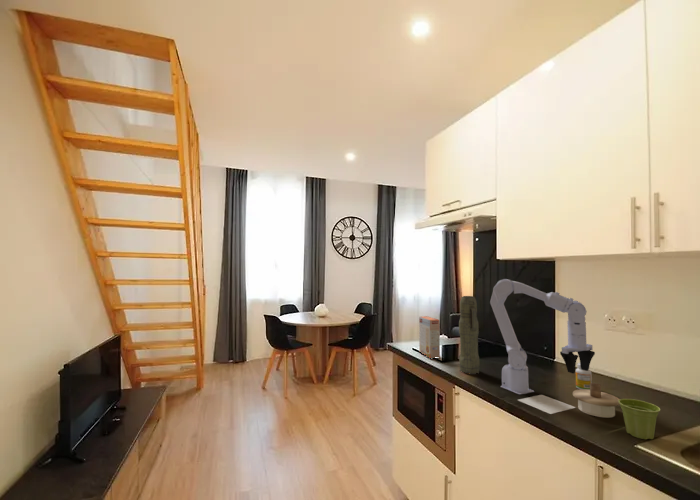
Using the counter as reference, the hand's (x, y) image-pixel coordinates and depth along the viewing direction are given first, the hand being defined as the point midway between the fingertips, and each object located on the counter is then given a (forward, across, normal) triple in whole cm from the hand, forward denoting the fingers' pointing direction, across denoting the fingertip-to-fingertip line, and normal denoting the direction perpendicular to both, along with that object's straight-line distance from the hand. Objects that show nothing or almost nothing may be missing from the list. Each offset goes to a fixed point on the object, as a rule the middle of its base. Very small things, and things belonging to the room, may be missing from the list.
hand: (578, 371), depth 126 cm
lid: (+6, -5, -9) cm, 12 cm away
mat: (+10, -15, +2) cm, 18 cm away
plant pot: (+11, -10, -24) cm, 28 cm away
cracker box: (+11, -12, +73) cm, 75 cm away
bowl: (+10, -5, -9) cm, 15 cm away
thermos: (+11, -12, +43) cm, 46 cm away
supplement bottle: (+11, +14, +7) cm, 19 cm away
